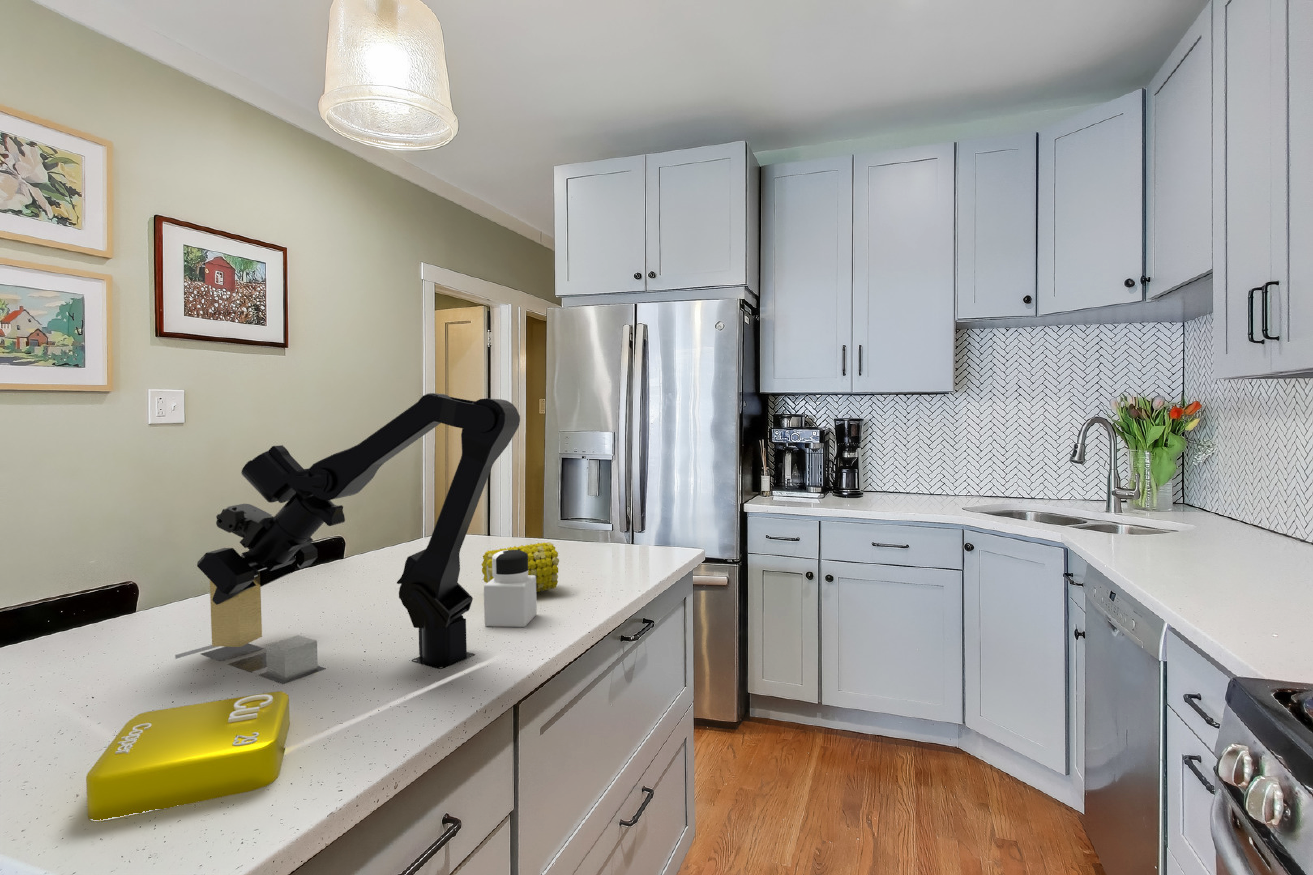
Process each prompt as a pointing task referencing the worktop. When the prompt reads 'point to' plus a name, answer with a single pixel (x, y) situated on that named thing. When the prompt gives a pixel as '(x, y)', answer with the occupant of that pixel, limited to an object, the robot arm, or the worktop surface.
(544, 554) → the food
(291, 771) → the worktop surface
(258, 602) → the tan wooden block
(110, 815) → the element tile
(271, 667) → the zinc block
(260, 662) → the grey slotted plate
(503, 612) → the medicine bottle
